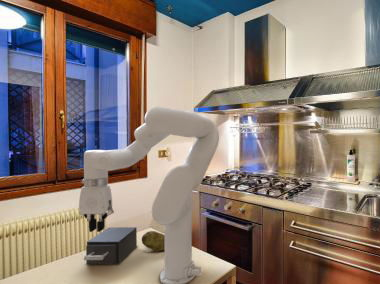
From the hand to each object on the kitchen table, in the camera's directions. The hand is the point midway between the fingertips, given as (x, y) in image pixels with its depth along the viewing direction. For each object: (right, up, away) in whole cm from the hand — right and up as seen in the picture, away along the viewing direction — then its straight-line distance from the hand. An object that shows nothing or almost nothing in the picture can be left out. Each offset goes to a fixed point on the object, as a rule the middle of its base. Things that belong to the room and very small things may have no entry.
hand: (96, 230), depth 86 cm
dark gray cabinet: (0, -15, +11) cm, 19 cm away
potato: (+17, -15, +16) cm, 28 cm away
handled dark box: (0, -14, +7) cm, 16 cm away
